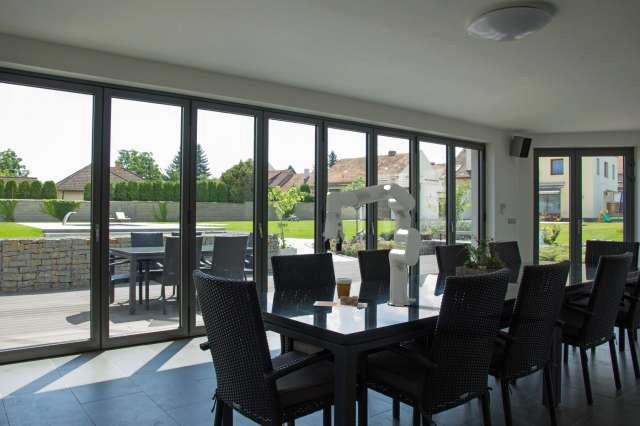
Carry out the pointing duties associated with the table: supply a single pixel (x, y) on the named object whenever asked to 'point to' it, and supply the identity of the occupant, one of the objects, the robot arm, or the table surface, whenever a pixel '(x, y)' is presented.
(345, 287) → the disposable coffee cup
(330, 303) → the push board
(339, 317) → the table surface
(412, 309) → the table surface
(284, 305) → the table surface
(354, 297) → the walnut T-block
